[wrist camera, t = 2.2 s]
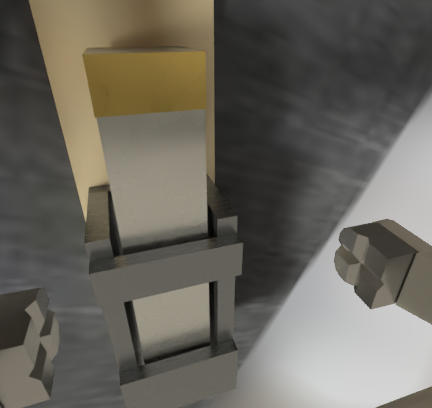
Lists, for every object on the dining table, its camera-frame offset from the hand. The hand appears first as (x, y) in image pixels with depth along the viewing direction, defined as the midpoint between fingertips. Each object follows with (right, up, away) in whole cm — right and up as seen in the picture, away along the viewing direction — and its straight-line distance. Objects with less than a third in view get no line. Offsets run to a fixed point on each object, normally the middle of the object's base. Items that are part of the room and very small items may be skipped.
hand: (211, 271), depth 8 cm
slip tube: (-3, 0, +10) cm, 11 cm away
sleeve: (-4, -2, +14) cm, 15 cm away
